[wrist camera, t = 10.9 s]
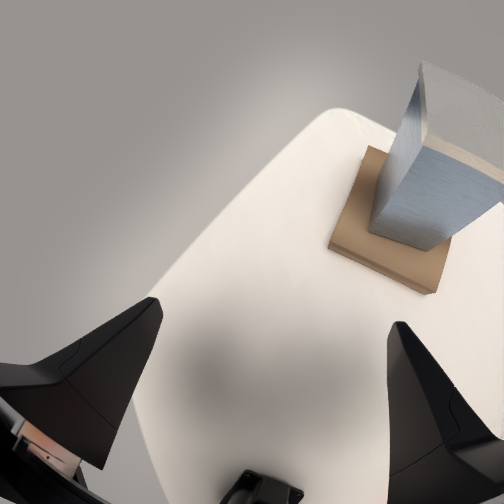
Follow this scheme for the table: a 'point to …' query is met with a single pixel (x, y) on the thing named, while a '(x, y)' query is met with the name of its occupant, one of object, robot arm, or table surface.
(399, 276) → the walnut block
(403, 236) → the tea tin
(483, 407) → the table surface
